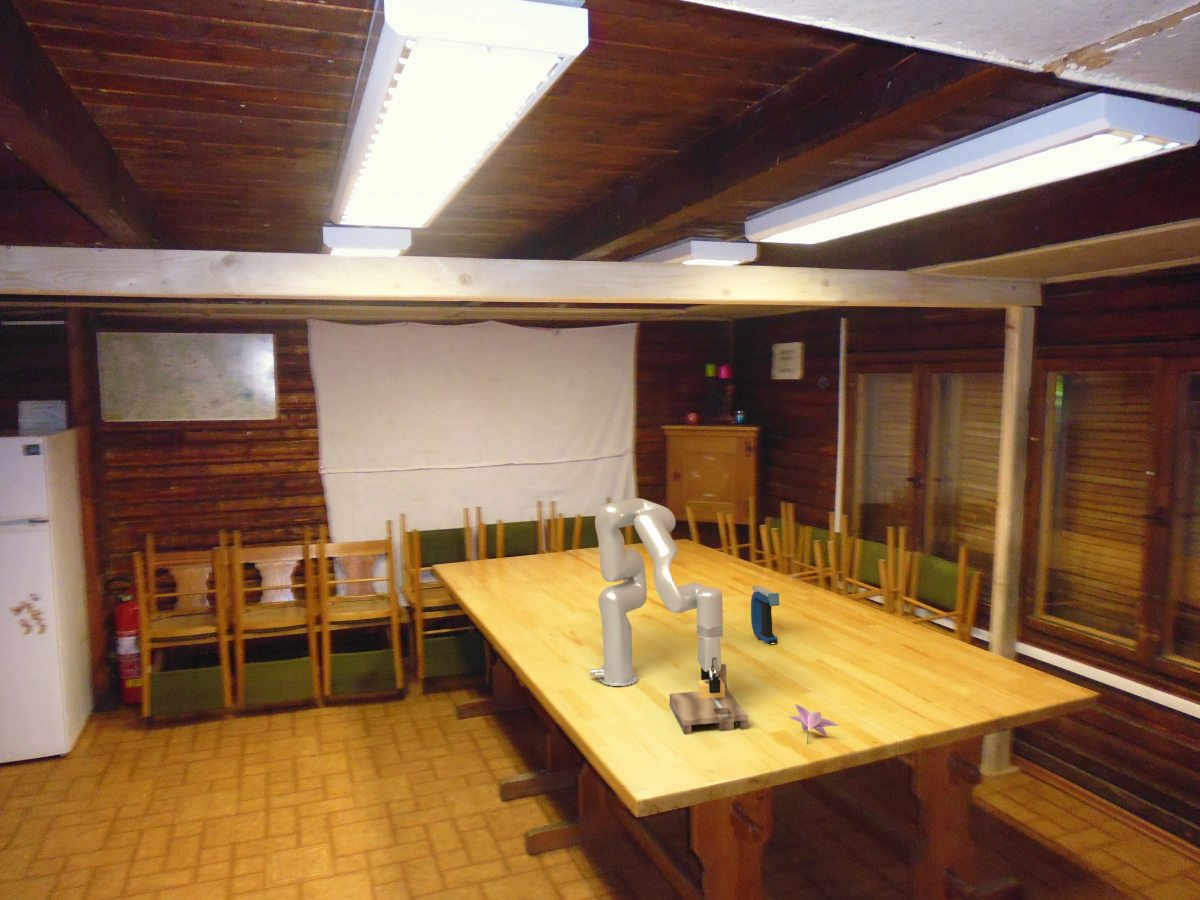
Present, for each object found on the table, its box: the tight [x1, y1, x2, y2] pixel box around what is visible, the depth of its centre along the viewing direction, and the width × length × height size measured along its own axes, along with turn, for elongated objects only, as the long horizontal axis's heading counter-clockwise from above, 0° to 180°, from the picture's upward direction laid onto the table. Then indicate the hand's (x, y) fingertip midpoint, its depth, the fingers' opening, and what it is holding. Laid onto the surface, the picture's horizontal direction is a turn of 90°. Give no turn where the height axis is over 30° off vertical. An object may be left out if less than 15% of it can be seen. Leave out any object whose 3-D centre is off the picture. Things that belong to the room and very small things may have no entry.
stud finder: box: [697, 679, 725, 699], centre depth 241 cm, size 7×4×4 cm, turn 97°
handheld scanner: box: [750, 585, 780, 645], centre depth 304 cm, size 5×16×20 cm, turn 15°
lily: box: [788, 703, 839, 745], centre depth 219 cm, size 12×12×10 cm
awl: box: [720, 663, 728, 689], centre depth 253 cm, size 3×3×9 cm
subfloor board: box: [669, 688, 749, 735], centre depth 235 cm, size 18×20×4 cm
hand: (710, 686), depth 242 cm, fingers open, 9 cm apart
